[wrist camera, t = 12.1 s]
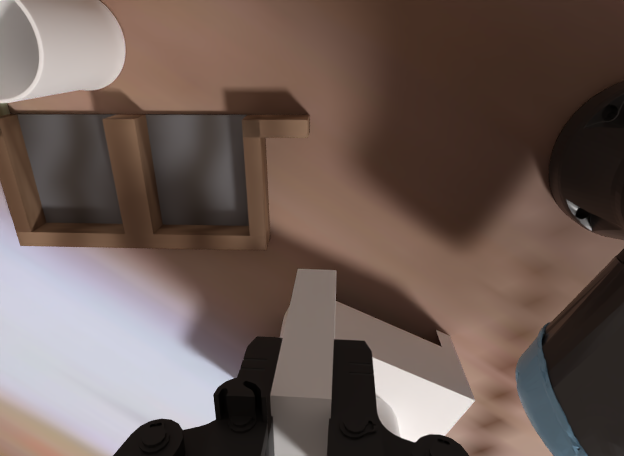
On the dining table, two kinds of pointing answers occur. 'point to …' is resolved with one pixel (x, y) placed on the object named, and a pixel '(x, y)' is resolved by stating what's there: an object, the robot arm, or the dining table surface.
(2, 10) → the mug
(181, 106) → the dining table surface
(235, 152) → the wooden compartment tray
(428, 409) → the white block stand
